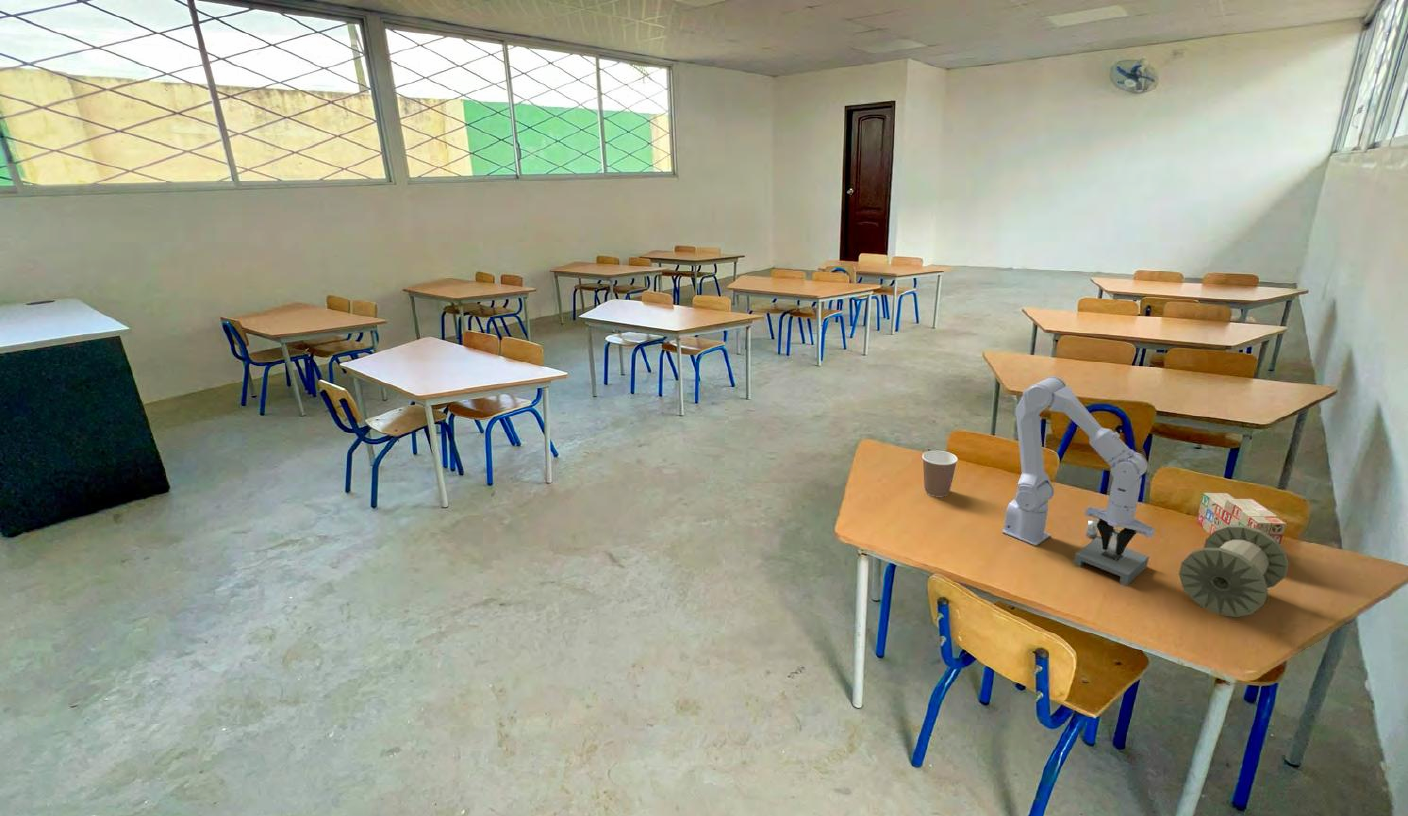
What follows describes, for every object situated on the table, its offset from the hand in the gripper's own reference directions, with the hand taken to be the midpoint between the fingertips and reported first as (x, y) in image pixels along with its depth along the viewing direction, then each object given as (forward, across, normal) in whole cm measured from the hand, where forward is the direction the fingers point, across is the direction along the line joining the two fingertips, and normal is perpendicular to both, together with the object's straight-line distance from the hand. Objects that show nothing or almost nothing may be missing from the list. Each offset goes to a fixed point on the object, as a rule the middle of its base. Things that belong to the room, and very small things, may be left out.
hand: (1112, 551), depth 159 cm
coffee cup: (+4, -51, +3) cm, 51 cm away
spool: (+4, +22, +6) cm, 23 cm away
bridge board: (+4, 0, 0) cm, 4 cm away
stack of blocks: (+5, +16, +34) cm, 38 cm away
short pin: (+4, -9, +11) cm, 15 cm away
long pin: (+3, 0, 0) cm, 4 cm away
